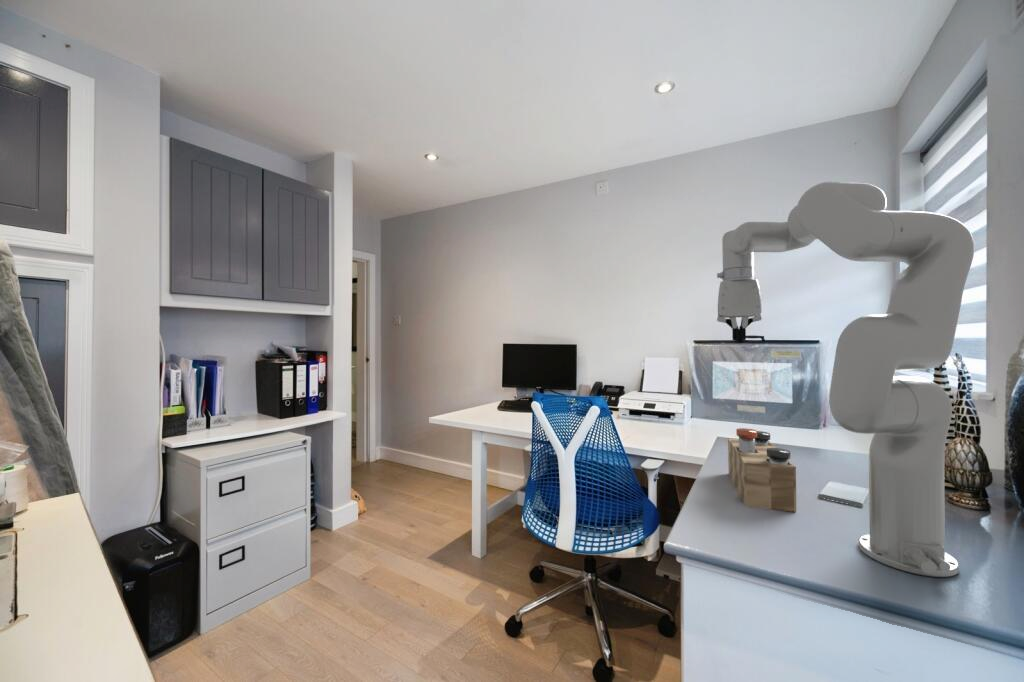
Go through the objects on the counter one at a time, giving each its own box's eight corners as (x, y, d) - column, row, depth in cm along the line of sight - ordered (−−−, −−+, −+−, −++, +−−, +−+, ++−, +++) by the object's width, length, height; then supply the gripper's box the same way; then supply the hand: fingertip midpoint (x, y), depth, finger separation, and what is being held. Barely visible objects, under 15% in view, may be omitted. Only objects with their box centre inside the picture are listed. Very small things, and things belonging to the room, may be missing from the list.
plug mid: (759, 480, 102) (759, 432, 102) (738, 479, 103) (738, 431, 103) (755, 475, 106) (755, 428, 106) (735, 473, 108) (734, 427, 108)
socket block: (796, 512, 91) (795, 466, 91) (745, 506, 94) (744, 462, 94) (769, 477, 114) (768, 440, 114) (728, 473, 117) (728, 438, 117)
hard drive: (862, 503, 93) (869, 488, 101) (818, 493, 99) (828, 480, 107) (862, 510, 93) (869, 495, 101) (818, 500, 99) (828, 486, 107)
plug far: (772, 480, 109) (772, 435, 109) (753, 478, 110) (752, 434, 110) (768, 475, 113) (767, 431, 113) (749, 473, 115) (748, 430, 115)
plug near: (793, 507, 92) (793, 453, 92) (769, 504, 93) (769, 452, 93) (787, 499, 96) (787, 448, 96) (765, 497, 98) (764, 447, 98)
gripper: (709, 276, 112) (710, 343, 112) (773, 272, 107) (774, 343, 107) (706, 279, 119) (707, 343, 119) (766, 276, 114) (767, 342, 114)
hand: (739, 342), depth 113 cm, fingers closed
